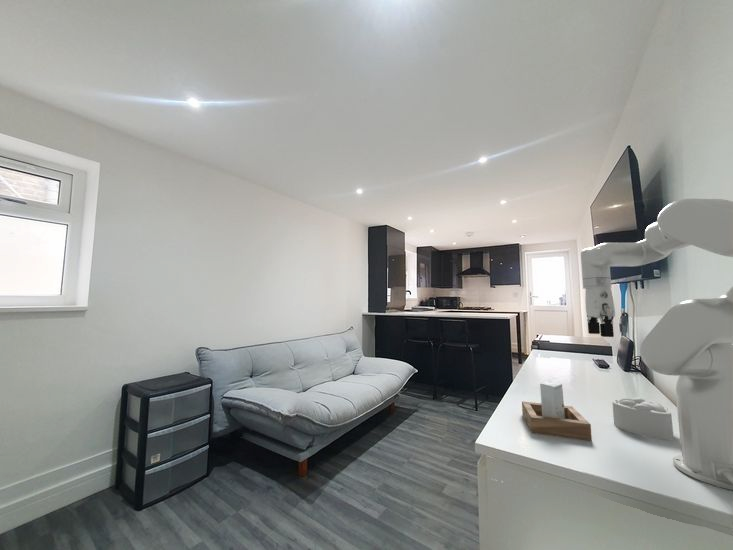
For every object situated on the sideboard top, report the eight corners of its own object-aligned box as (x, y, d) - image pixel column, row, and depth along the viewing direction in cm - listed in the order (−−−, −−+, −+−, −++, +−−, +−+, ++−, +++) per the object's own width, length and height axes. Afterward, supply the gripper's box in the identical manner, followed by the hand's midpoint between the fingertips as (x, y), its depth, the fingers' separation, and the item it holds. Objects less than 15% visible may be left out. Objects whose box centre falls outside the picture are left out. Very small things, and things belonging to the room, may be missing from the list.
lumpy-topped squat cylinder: (676, 442, 81) (672, 410, 82) (615, 430, 89) (612, 400, 90) (668, 429, 89) (665, 400, 90) (612, 419, 97) (610, 392, 98)
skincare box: (557, 427, 87) (554, 386, 89) (541, 422, 91) (539, 383, 92) (566, 423, 91) (563, 383, 92) (550, 418, 95) (548, 380, 96)
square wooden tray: (591, 440, 81) (590, 424, 82) (531, 432, 86) (531, 417, 87) (573, 420, 95) (572, 406, 96) (522, 414, 100) (521, 401, 101)
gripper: (623, 281, 88) (628, 338, 86) (598, 285, 104) (602, 333, 103) (594, 282, 90) (598, 337, 89) (574, 285, 107) (577, 332, 105)
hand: (600, 335), depth 96 cm, fingers open, 9 cm apart
